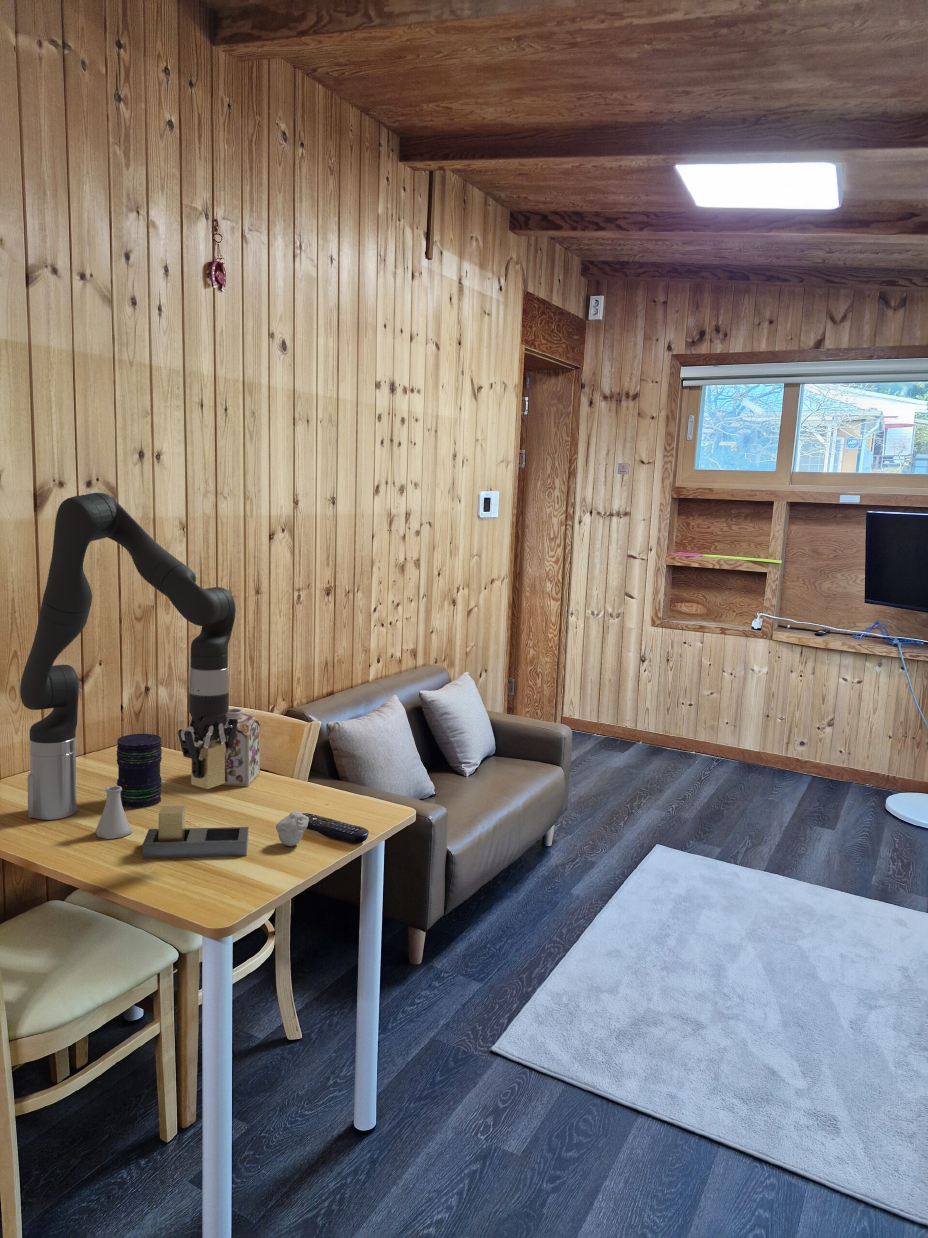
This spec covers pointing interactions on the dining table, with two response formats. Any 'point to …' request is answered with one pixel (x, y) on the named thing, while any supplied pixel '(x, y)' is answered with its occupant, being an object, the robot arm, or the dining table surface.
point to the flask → (113, 816)
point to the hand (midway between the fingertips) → (208, 774)
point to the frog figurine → (292, 828)
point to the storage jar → (139, 770)
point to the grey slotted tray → (199, 843)
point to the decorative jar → (243, 751)
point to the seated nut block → (172, 824)
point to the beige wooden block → (211, 766)
